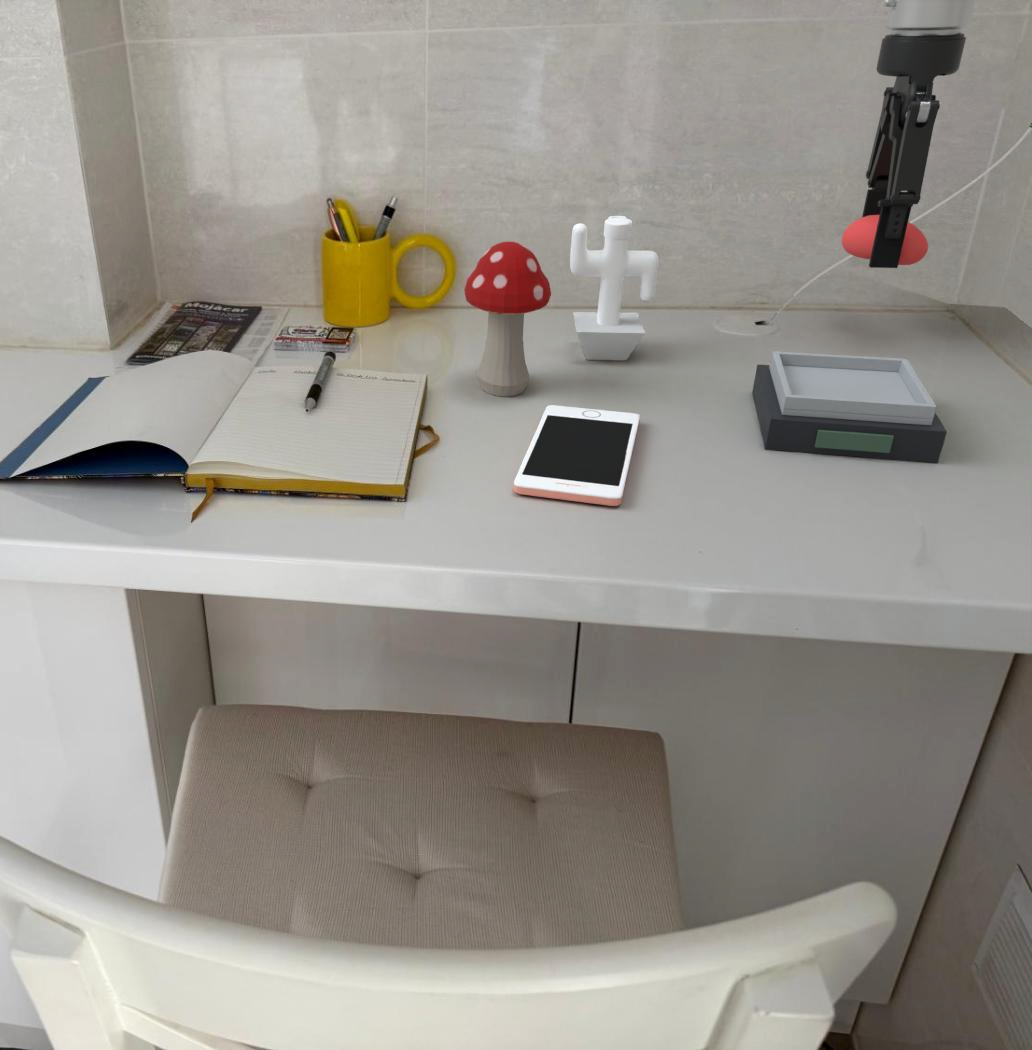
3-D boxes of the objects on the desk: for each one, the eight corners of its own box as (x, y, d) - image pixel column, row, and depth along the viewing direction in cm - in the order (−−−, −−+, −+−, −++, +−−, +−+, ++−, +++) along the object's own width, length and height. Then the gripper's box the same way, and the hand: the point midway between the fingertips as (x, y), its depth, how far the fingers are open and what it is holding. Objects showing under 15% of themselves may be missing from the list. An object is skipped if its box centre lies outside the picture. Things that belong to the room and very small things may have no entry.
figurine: (651, 365, 109) (669, 226, 101) (563, 363, 110) (575, 226, 103) (643, 343, 115) (660, 210, 107) (560, 342, 116) (571, 211, 109)
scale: (904, 402, 97) (916, 355, 95) (938, 464, 86) (953, 413, 83) (752, 392, 101) (760, 347, 99) (765, 450, 89) (774, 401, 87)
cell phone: (639, 422, 95) (640, 413, 95) (620, 508, 80) (621, 497, 80) (546, 412, 98) (547, 403, 97) (511, 494, 83) (512, 484, 83)
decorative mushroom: (554, 401, 101) (566, 253, 93) (470, 406, 100) (475, 257, 93) (532, 367, 109) (541, 229, 102) (454, 371, 109) (458, 233, 102)
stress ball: (873, 284, 108) (917, 234, 104) (822, 238, 114) (862, 189, 110) (899, 292, 111) (943, 244, 107) (848, 246, 116) (888, 199, 112)
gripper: (866, 27, 110) (826, 235, 121) (905, 40, 93) (854, 281, 104) (941, 24, 108) (894, 236, 119) (996, 37, 91) (934, 283, 102)
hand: (875, 256), depth 112 cm, fingers closed on stress ball, 8 cm apart
